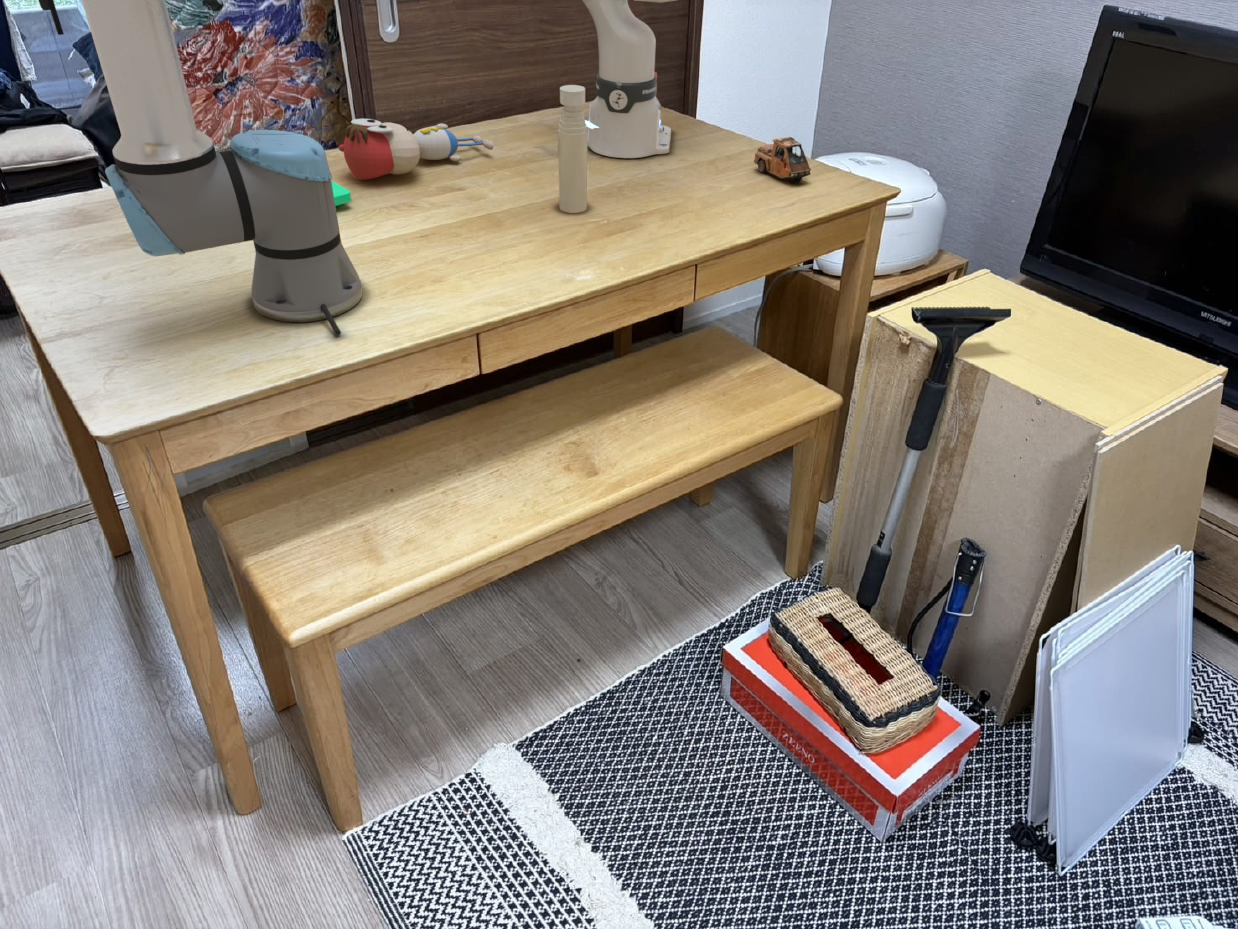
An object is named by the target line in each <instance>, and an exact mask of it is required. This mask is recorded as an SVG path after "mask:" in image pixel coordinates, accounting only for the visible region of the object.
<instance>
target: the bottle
mask: <svg viewBox="0 0 1238 929" xmlns="http://www.w3.org/2000/svg"><path fill="white" fill-rule="evenodd" d="M586 121H587V120H586V118H585V114H584V109H583V108H582V105H580V106H566V105H563V108H562V110H561V114H560V118H559V122H558V129H557V148H558V150H557V151H558V152H557V153H558V155H557V156H558V157H557V158H558V160H557V161H558V209H559V210H560V211H561V212H563V213H569V214H578V213H583V212H585V211H586V210H587V209H588V146H587V134H588V127H587V124H586Z"/></svg>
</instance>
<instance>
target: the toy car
mask: <svg viewBox="0 0 1238 929" xmlns="http://www.w3.org/2000/svg"><path fill="white" fill-rule="evenodd" d="M771 141H772V143H771V144H765V145H761V146H759V147H758V148H757V151H756V152H755V153H754V159H753V163H754V164H755V165H756V166H757V168H758V171H759V173H766V174H769V175H772V176H774V177H776V178H778V179H780V180H784V181H788V180H791V179H792V182H794V183H795V184H800V183H801V182H802V180H803V178H805V177H808V176H810V175H811V171H812V168H811V167H810V164H809V162H808V160H807V159H808V158H807V157H806V154H805V152H804V151H805V150H804V149H803V147H802V144H801V143H800V142H799V141H797V140H795V138H794V137H792V136H786V137H779V138H773V139H772V140H771ZM797 147H798V148H799V149H800V155H798V154H797V149H795V150H794V148H797ZM793 151H795V152H793Z"/></svg>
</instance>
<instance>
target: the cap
mask: <svg viewBox="0 0 1238 929" xmlns="http://www.w3.org/2000/svg"><path fill="white" fill-rule="evenodd" d="M559 103H560V105H563V106H564V105H566V106H580V105H581V106H583V105H585V104H586V87H585V86H583V85H579V84H566V85H561V86H560V87H559Z"/></svg>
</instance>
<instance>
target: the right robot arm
mask: <svg viewBox="0 0 1238 929" xmlns="http://www.w3.org/2000/svg"><path fill="white" fill-rule="evenodd" d="M581 1H582V2H583V4H584V5H585V6H586V8H587V10H588V12H589V14H590V16H591V18H592V21H593V23H594V26H595V30H596V35H597V46H598V73H597V75H596V81H595V87H596V90H595V92H596V95H597V96H596V97H595V99H593V100H592V101H591V102H590V103H589V109H588V120H586V124H587V148H589V149H591V150H592V151H593V152H594V153H595V154H599V155H602V156H605V157H610V158H617V159H619V158H620V159H638V158H645V157H650V156H653V155H665V154H669V153H670V147H671V138H672V128H671V127H670V126H667V125H664V124H662V120H663V105H661V103H660V101H659V99H658V97H657V93H658V91H657V89H658V83H657V80H658V73H657V71H655V68H656V48H657V47H656V46H657V40H656V36H655V33H654V32H653V30H652V29H651V28H650V26H649V25H648V24H646V23H645V22H644V21H642V20H641V19H639V18H638V17H636V16H635V15H634V13H633V12H632V10H631V8H630V5H629V2H628V1H629V0H581ZM635 1H638V2H648V3H668V2H669V3H670V2H676V1H677V0H635Z"/></svg>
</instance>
